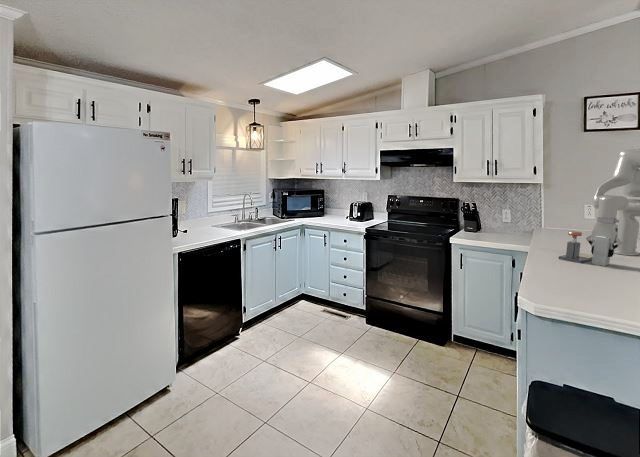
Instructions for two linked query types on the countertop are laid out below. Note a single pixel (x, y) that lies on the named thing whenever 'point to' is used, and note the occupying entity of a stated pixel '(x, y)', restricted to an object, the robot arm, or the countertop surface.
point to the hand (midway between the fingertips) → (601, 255)
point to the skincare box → (601, 251)
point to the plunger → (574, 235)
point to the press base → (575, 254)
